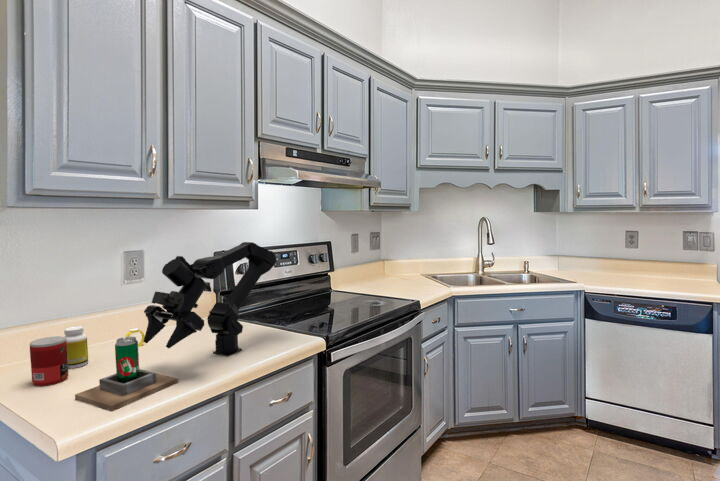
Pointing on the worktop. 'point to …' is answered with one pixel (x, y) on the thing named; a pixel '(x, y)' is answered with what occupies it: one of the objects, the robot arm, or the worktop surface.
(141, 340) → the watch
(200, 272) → the robot arm
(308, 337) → the worktop surface
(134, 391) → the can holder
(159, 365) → the worktop surface
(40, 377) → the canned food
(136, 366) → the soda can
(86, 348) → the pill bottle
